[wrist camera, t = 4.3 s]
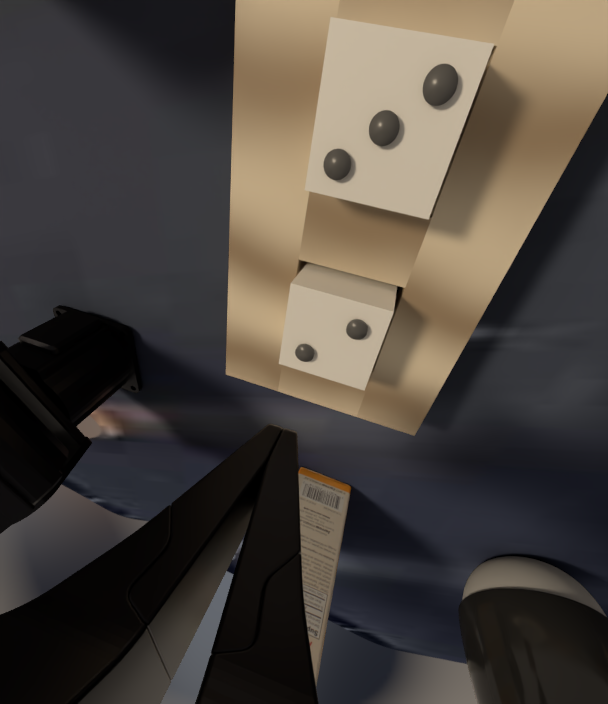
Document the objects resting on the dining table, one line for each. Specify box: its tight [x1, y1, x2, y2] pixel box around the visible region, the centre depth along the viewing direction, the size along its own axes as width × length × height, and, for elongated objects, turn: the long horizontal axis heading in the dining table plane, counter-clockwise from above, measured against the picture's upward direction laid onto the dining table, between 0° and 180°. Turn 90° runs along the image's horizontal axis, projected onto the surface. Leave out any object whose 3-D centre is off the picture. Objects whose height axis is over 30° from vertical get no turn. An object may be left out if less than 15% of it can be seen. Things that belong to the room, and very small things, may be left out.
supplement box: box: [299, 467, 351, 685], centre depth 25 cm, size 8×5×13 cm, turn 166°
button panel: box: [226, 0, 608, 436], centre depth 13 cm, size 28×12×2 cm, turn 170°
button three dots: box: [305, 17, 494, 220], centre depth 11 cm, size 4×4×3 cm
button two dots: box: [279, 262, 397, 390], centre depth 16 cm, size 4×4×3 cm
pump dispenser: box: [458, 556, 608, 704], centre depth 22 cm, size 10×10×15 cm
